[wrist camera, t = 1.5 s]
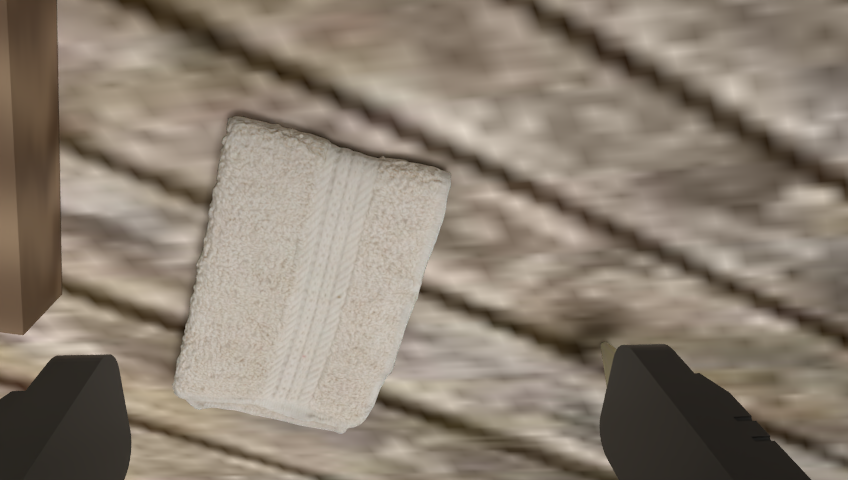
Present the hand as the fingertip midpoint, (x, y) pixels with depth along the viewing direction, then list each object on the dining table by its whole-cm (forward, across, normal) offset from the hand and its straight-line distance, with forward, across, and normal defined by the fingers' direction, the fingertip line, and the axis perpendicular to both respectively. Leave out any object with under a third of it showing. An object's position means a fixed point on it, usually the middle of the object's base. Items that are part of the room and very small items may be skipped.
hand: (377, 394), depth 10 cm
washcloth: (+23, +3, +10) cm, 25 cm away
